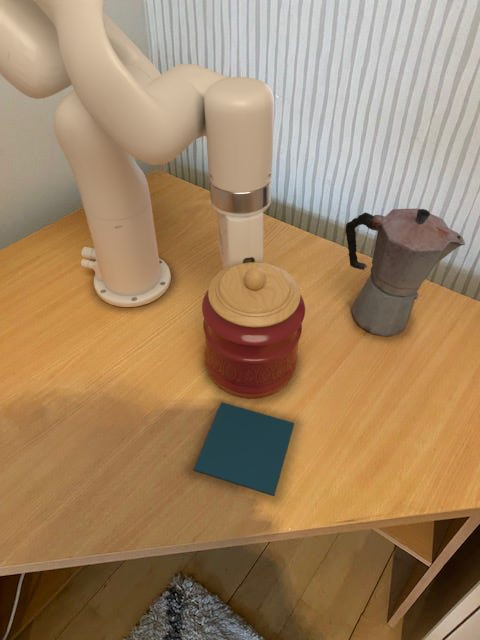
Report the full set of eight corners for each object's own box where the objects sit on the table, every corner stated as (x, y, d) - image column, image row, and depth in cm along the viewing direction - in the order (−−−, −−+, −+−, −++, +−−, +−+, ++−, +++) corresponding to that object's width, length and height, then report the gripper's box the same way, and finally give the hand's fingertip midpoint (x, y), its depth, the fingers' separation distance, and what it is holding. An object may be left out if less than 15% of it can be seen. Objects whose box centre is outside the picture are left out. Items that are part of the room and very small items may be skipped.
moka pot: (429, 347, 71) (481, 240, 56) (325, 331, 73) (349, 222, 58) (425, 303, 77) (470, 196, 63) (330, 289, 79) (353, 182, 65)
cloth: (193, 470, 57) (193, 469, 57) (221, 403, 64) (221, 402, 63) (274, 496, 55) (274, 494, 55) (294, 424, 62) (294, 422, 61)
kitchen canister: (298, 401, 64) (316, 311, 51) (202, 400, 64) (196, 309, 51) (292, 329, 73) (306, 237, 60) (207, 328, 73) (203, 235, 60)
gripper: (202, 163, 63) (211, 270, 76) (219, 229, 53) (226, 338, 66) (258, 158, 64) (256, 264, 77) (285, 221, 54) (278, 330, 67)
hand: (242, 298), depth 71 cm, fingers closed
